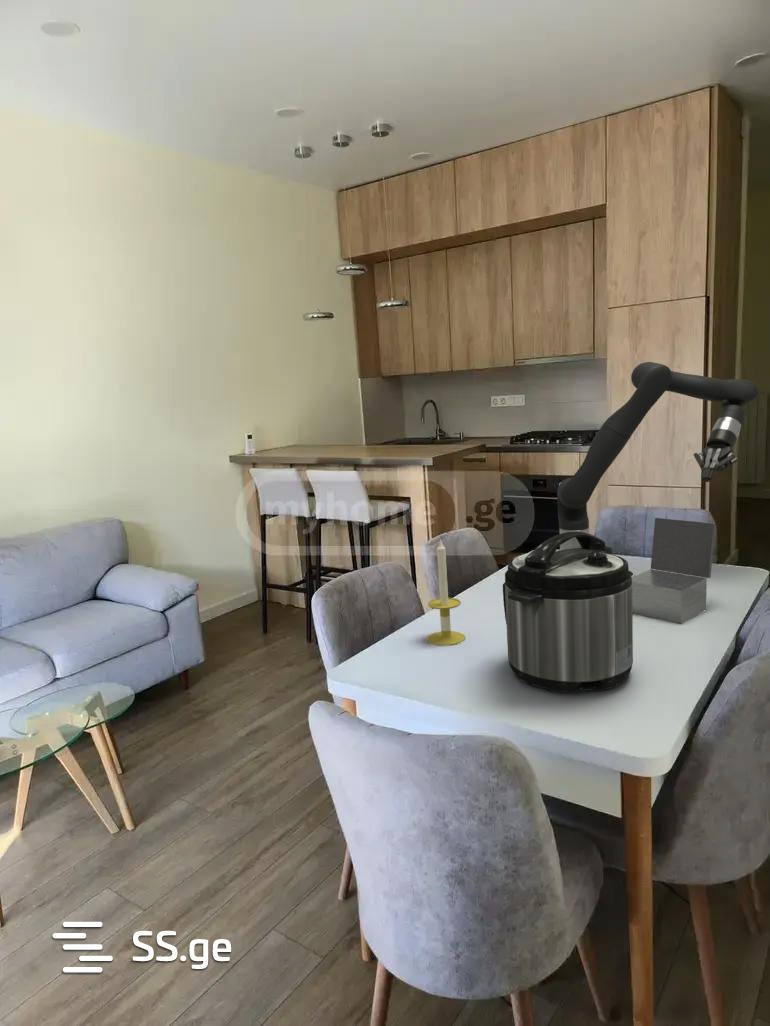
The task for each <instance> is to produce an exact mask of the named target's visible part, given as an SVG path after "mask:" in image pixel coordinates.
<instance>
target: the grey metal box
mask: <svg viewBox="0 0 770 1026" xmlns="http://www.w3.org/2000/svg"><path fill="white" fill-rule="evenodd" d="M707 579H708V578H705V577H699V576H692V575H686V574H680V573H674V572H667V571H661V570H655V569H651V568H650V569H647V570H645V571H643V572H641V573H639V574H636V575H634V576H632V600H633V601H632V609H633V615H639V616H642V615H643V616H644V617H648V618H653V619H655V620H657V619H658V620H662V621H666V622H671V623H675V624H680V625H682V624H684V623H686V622H688V621H689V620H691V619H692V618H694V616H695V617H697V616H698V615H700V614H702V613H704V612H705V611H704V610H706V611H707V586H708V585H707ZM703 611H704V612H703ZM701 612H702V613H701ZM699 613H700V614H699ZM643 616H642V617H643Z"/></svg>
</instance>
